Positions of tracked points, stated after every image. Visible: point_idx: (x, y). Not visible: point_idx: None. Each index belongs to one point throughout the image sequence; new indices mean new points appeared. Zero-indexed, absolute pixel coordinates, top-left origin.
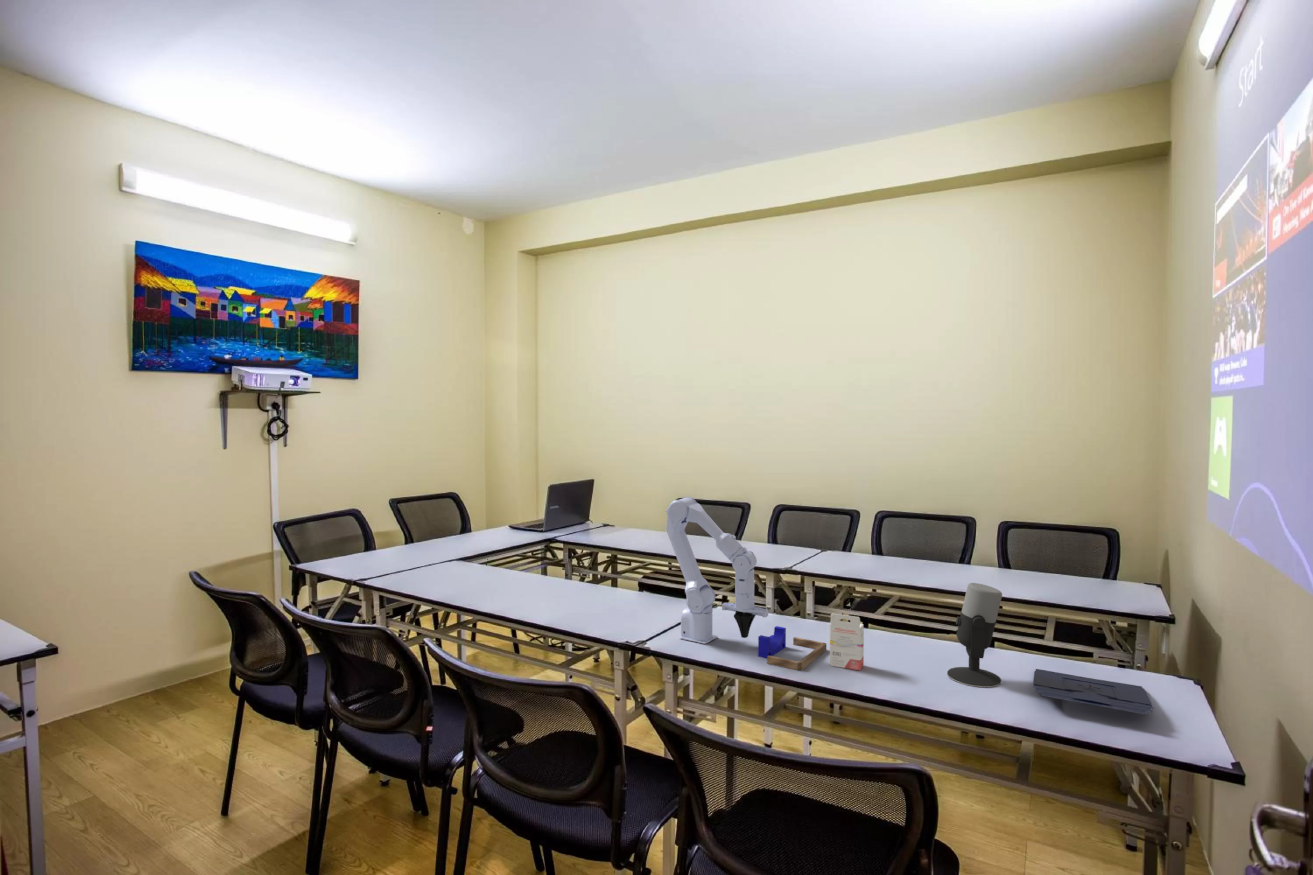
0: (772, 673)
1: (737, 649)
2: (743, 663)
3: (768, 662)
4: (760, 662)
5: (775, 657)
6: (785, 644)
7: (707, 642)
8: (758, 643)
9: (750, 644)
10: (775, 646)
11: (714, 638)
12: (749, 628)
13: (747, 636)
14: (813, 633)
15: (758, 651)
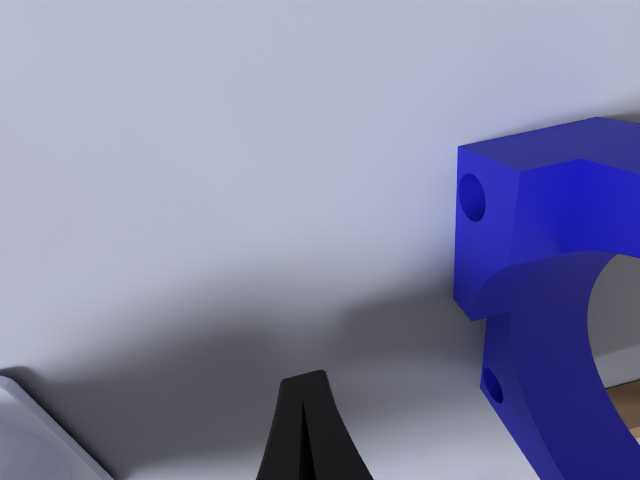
0: None
1: None
2: (460, 472)
3: None
4: None
5: (637, 432)
6: (618, 123)
7: (107, 477)
8: (537, 472)
9: (319, 291)
10: (573, 280)
11: (47, 417)
12: (349, 441)
13: (328, 382)
14: None
15: (499, 415)
